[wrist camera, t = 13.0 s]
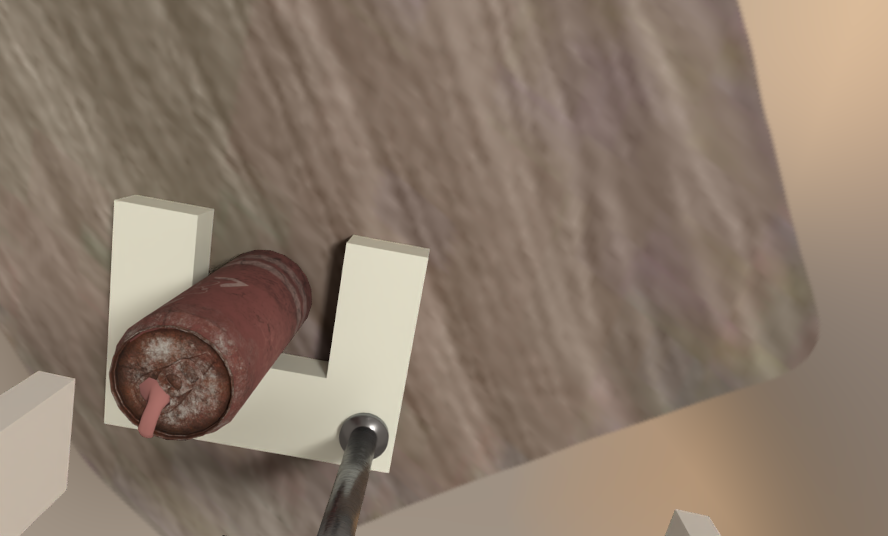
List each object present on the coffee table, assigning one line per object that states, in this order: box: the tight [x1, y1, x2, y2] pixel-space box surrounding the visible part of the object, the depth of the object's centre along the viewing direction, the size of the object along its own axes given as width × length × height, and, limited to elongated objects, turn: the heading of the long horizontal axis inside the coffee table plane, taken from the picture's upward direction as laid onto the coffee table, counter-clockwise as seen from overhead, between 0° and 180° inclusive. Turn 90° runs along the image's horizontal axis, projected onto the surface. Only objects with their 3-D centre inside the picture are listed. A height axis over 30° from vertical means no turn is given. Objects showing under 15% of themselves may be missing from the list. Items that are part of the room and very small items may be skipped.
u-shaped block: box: [104, 195, 430, 473], centre depth 39 cm, size 15×19×2 cm
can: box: [109, 250, 312, 440], centre depth 33 cm, size 6×6×14 cm
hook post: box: [222, 413, 389, 536], centre depth 32 cm, size 3×7×14 cm, turn 79°
